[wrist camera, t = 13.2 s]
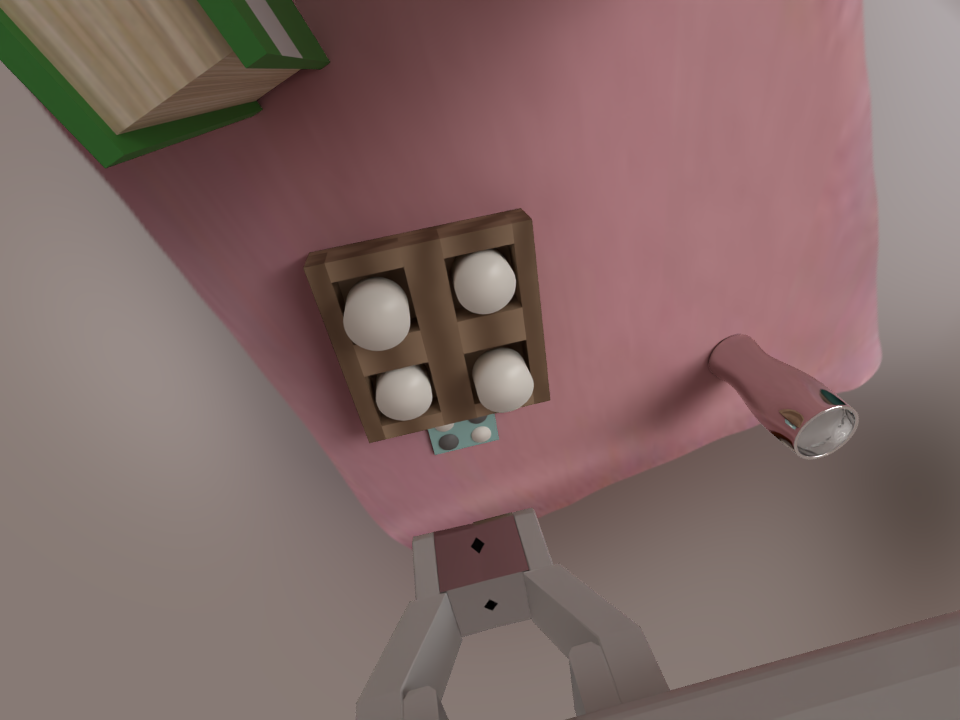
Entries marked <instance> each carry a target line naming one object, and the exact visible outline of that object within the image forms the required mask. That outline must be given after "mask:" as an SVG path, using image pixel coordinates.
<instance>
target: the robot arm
mask: <svg viewBox="0 0 960 720" xmlns="http://www.w3.org/2000/svg"><path fill="white" fill-rule="evenodd" d="M412 547H413V563H414V579H415V597H416V600H414V601H410V602H409V604H408V606H407V608H406V609H405V611H404V614H403V615H402V617H401V619H400V621H399V623H398V625H397V627H396V628H395V631H394V632H393V634H392V636H391V638H390V640H389V642H388V644H387V646H386V648H385V649H384V651H383V653H382V655H381V657H380V659H379V661H378V663H377V665H376V666H375V669H374V670H373V672H372V674H371V676H370V678H369V680H368V682H367V684H366V685H365V687H364V689H363V691H362V693H361V695H360V697H359V699H358V701H357V703H356V720H449V719H448V717H447V715H446V712H445V710H444V708H443V705H442V703H441V700H442V697H443V694H444V691H445V688H446V686H447V682H448V680H449V677H450V674H451V671H452V668H453V665H454V662H455V659H456V657H457V653H458V651H459V648H460V645H461V642H462V638H461V637H465V636H468V635H472V634H475V633H478V632H482V631H485V630H488V629H492V628H495V627H496V626H497V627H499V626H503V625H508V624H512V623H516V622H521V621H525V620H529V619H532V621H533V622H534V623H535V624H536V625H537V626H538V627H539V628H540V630H541V631H542V632H543V633H544V634H545V635H546V636H547V637H548V638H549V639H550V640H551V641H552V642H553V643H554V644H555V645H556V646H557V647H558V648H559V649H560V651H561V652H562V653H563V654H564V655H565V656H566V657H567V658H568V659H569V665H570V673H571V683H572V691H573V700H574V709H575V713H576V716H577V717H573V718H570V719H566V720H960V610H957V611H953V612H950V613H946V614H943V615H939V616H936V617H932V618H928V619H925V620H921V621H918V622H914V623H911V624H907V625H904V626H900V627H896V628H893V629H889V630H885V631H882V632H878V633H875V634H871V635H868V636H864V637H860V638H857V639H853V640H850V641H846V642H842V643H839V644H835V645H832V646H828V647H824V648H821V649H817V650H814V651H810V652H807V653H803V654H799V655H796V656H793V657H789V658H785V659H781V660H778V661H774V662H771V663H767V664H764V665H760V666H756V667H753V668H750V669H746V670H742V671H738V672H735V673H731V674H728V675H724V676H721V677H717V678H713V679H710V680H706V681H703V682H699V683H696V684H692V685H688V686H685V687H681V688H678V689H674V690H670V689H669V687H668V685H667V683H666V681H665V679H664V676H663V674H662V672H661V670H660V668H659V666H658V663H657V661H656V659H655V657H654V655H653V653H652V650H651V648H650V646H649V644H648V642H647V640H646V637H645V635H644V633H643V631H642V629H641V627H640V626H639V625H637V624H636V623H635V622H633V621H632V620H631V619H630V618H628V617H627V616H626V615H625V614H623V613H622V612H621V611H619V610H618V609H617V608H616V607H614V606H613V605H612V604H611V603H609V602H608V601H607V600H605V599H604V598H603V597H602V596H600V595H599V594H597V593H596V592H595V591H594V590H593V589H591V588H590V587H589V586H587V585H586V584H585V583H584V582H582V581H581V580H580V579H579V578H577V577H576V576H575V575H573V574H572V573H571V572H570V571H568V570H567V569H566V568H565V567H563V566H562V565H560V564H559V563H558V564H553V563H552V560H551V557H550V555H549V551H548V548H547V545H546V542H545V540H544V537H543V534H542V531H541V528H540V525H539V523H538V519H537V516H536V514H535V511H534V510H533V508H528V509H524V510H520V511H516V512H513V514H512V512H511V513H507V514H503V515H499V516H496V517H492V518H488V519H484V520H480V521H477V522H473V523H472V524H467V525H463V526H458V527H454V528H449V529H445V530H440V531H436V532H432V533H428V534H423V535H419V536H415V537H413V542H412Z"/></svg>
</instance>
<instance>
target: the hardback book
mask: <svg viewBox="0 0 960 720" xmlns="http://www.w3.org/2000/svg"><path fill="white" fill-rule="evenodd" d="M0 60H1V61H2V62H3V63H4V64H5V66H6V67H7V68H8V69H9V70H10V71H11V72H12V73H13V74H14V75H15V76H16V77H17V78H18V79H19V80H20V81H21V82H22V83H23V84H24V85H25V86H26V87H27V88H28V89H29V90H30V91H31V92H32V93H33V94H34V95H35V96H36V97H37V99H38V100H39V101H40V102H41V103H42V104H43V105H44V106H45V107H46V108H47V109H48V110H49V111H50V112H51V113H52V114H53V115H54V116H55V117H56V118H57V119H58V120H59V121H60V122H61V123H62V124H63V125H64V126H65V127H66V128H67V129H68V131H69V132H70V133H71V134H72V135H73V136H74V137H75V138H76V139H77V140H78V141H79V142H80V143H81V144H82V145H83V146H84V147H85V148H86V149H87V150H88V151H89V152H90V153H91V154H92V155H93V156H94V157H95V158H96V159H97V160H98V161H99V162H100V164H101V165H102V166H103V167H104V168H108V167H111V166H114V165H116V164H119V163H122V162H125V161H128V160H131V159H133V158H136V157H139V156H142V155H145V154H147V153H150V152H153V151H156V150H159V149H162V148H164V147H167V146H170V145H173V144H176V143H178V142H181V141H184V140H187V139H190V138H193V137H195V136H198V135H201V134H204V133H207V132H210V131H212V130H215V129H218V128H221V127H224V126H226V125H229V124H232V123H235V122H238V121H241V120H243V119H246V118H249V117H252V116H254V115H255V114H257V113H258V112H260V111H261V110H263V109H262V108H261V106H260V105H259V103H258V102H257V101H256V100H257V99H259V98H260V97H262V96H263V95H265V94H266V93H267V92H269V91H270V90H272V89H273V88H275V87H276V86H277V85H279V84H280V83H282V82H283V81H285V80H286V79H287V78H289V77H290V76H292V75H293V74H295V73H296V72H297V71H299V70H300V69H322V68H323V67H325V66H326V65H328V64H329V63H330V61H329V59H328V58H327V56H326V54H325V53H324V51H323V50H322V48H321V46H320V45H319V43H318V42H317V40H316V38H315V37H314V35H313V34H312V32H311V30H310V29H309V27H308V26H307V24H306V22H305V21H304V19H303V18H302V16H301V14H300V13H299V11H298V10H297V8H296V6H295V5H294V3H293V2H292V0H0Z"/></svg>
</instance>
